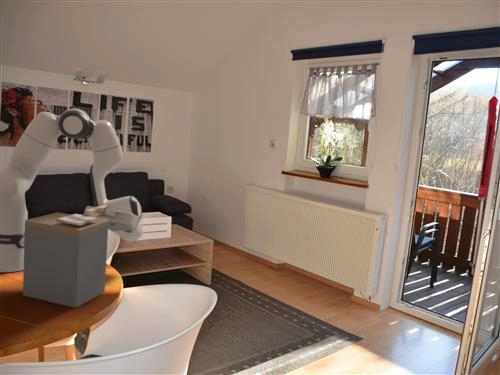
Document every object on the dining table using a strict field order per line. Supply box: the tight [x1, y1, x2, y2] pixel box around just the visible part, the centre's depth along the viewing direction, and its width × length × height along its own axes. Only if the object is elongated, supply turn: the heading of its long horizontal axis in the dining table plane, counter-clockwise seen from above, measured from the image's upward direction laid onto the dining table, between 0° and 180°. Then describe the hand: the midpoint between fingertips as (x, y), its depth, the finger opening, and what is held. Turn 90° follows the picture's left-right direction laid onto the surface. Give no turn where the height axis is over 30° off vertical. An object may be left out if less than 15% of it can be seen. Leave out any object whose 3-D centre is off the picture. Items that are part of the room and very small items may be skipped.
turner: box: [56, 205, 109, 226], centre depth 160 cm, size 22×9×2 cm, turn 164°
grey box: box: [22, 211, 109, 309], centre depth 159 cm, size 21×16×26 cm
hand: (101, 209), depth 167 cm, fingers closed on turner, 2 cm apart
